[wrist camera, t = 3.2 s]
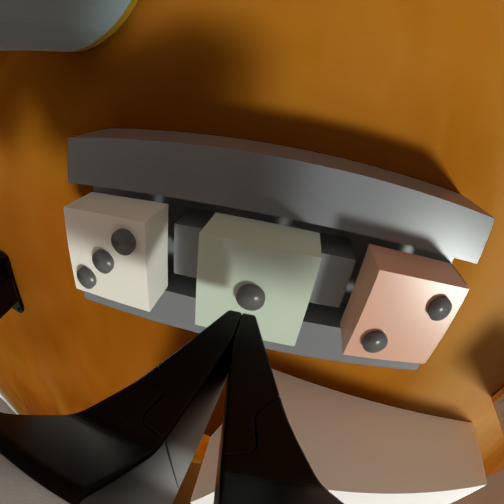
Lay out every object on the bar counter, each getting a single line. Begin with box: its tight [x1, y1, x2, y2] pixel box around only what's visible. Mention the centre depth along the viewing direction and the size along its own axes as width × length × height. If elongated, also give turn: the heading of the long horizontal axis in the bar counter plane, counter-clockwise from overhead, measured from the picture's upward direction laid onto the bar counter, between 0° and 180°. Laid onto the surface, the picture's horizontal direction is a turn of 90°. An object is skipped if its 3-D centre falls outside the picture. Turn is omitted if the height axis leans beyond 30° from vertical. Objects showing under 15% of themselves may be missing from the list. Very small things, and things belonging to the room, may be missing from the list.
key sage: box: [195, 212, 322, 346], centre depth 11 cm, size 4×4×2 cm
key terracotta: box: [340, 244, 469, 364], centre depth 11 cm, size 4×4×2 cm
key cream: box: [63, 192, 168, 312], centre depth 12 cm, size 4×4×2 cm
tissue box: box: [190, 368, 487, 504], centre depth 19 cm, size 14×25×11 cm, turn 67°
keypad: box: [67, 128, 495, 370], centre depth 14 cm, size 19×9×4 cm, turn 82°
